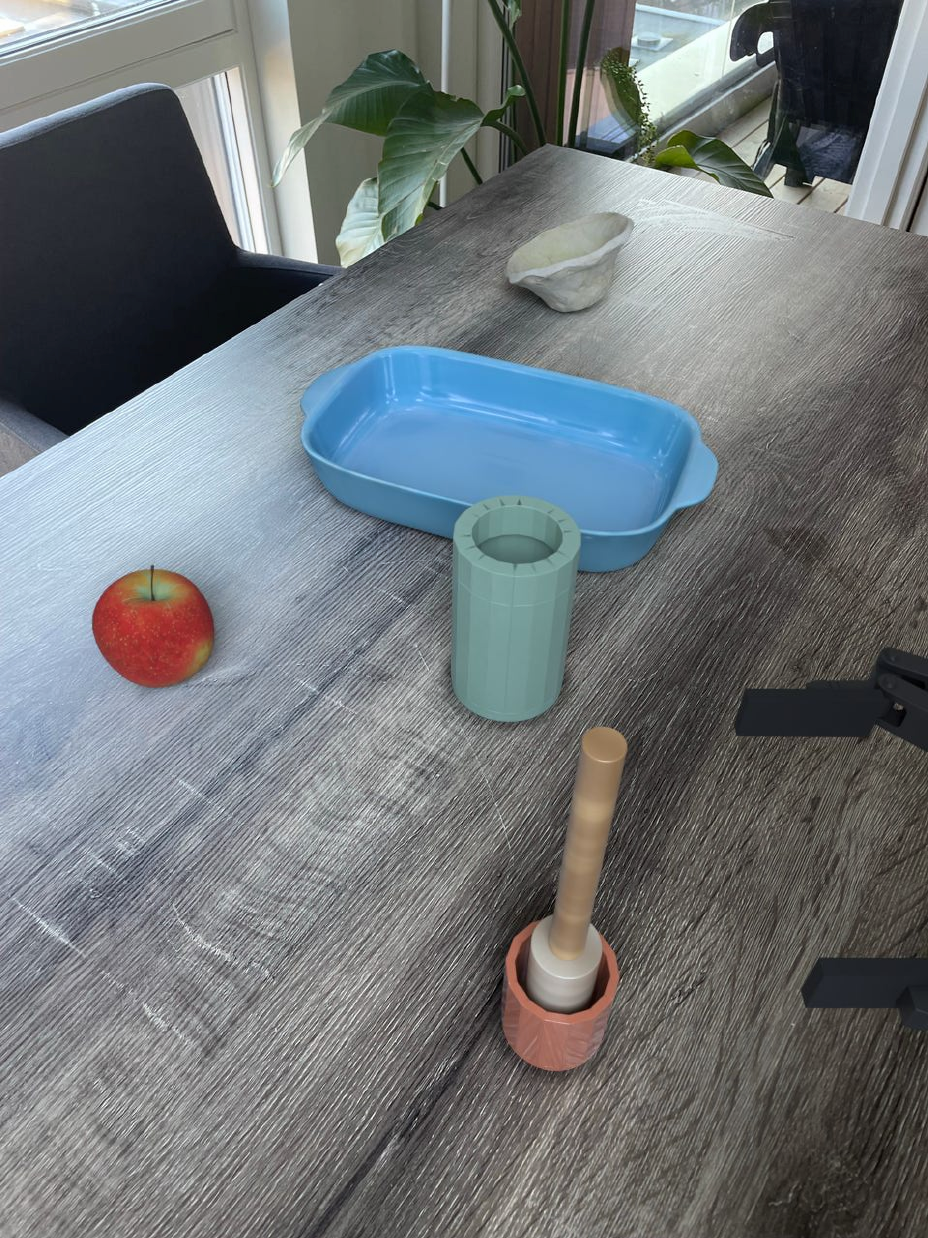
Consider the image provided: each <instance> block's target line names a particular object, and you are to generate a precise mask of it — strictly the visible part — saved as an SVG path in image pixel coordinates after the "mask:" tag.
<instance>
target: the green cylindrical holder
mask: <svg viewBox="0 0 928 1238" xmlns="http://www.w3.org/2000/svg"><path fill="white" fill-rule="evenodd" d="M580 547H581V533H580V530H579V528H578V526H577V524H576V522H575V521H574V519H573V518H572V517H571V516H570V515H569V514H568V513H566V512H565V511H564V510H563V509H561V508H560V507H559V506H557V505H554V504H552V503H550V502H547V501H545V500H542V499H540V498H534V497H528V496H522V495H507V496H496V497H493V498H489V499H486V500H482V501H480V502H478V503H476V504H474V505H473V506H471V507H469V508H468V509H466V510H465V511H464V512H463V513H462V515H461V516H460V517H459V519H458V520H457V521H456V523H455V526H454V534H453V539H452V572H451V573H452V574H451V575H452V576H451V579H452V580H451V581H452V582H451V632H450V633H451V634H450V635H451V637H450V639H451V640H450V641H451V643H450V675H451V676H450V677H451V679H450V681H451V687H452V690H453V692H454V695H455V696H456V698H457V699H458V701H459V702H460V703H461V704H462V705H463V706H464V707H465V708H466V709H467V710H469V711H471V712H472V713H473V714H475V715H477V716H480V717H481V718H483V719H484V718H485V719H487V720H492V721H495V722H503V723H515V722H522V721H527V720H530V719H533V718H537V717H538V716H540V715H542V714H544V713H545V712H547V711H548V710H549V709H550V708H552V706H553V705H554V704H555V703H556V701H557V700H558V698H559V696H560V694H561V692H562V691H561V690H562V685H563V682H564V675H565V668H566V667H565V666H566V660H567V651H568V645H569V637H570V631H571V622H572V614H573V607H574V600H575V593H576V586H577V585H576V584H577V576H578V562H579V555H580Z"/></svg>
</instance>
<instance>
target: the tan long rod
mask: <svg viewBox="0 0 928 1238" xmlns="http://www.w3.org/2000/svg"><path fill="white" fill-rule="evenodd" d="M581 737H582V738H581V740H580V746H579V752H578V758H577V759H578V760H577V766H576V771H575V778H574V783H573V790H572V795H571V802H570V809H569V815H568V819H567V820H568V821H567V827H566V833H565V839H564V845H563V852H562V857H561V864H560V871H559V877H558V882H557V889H556V895H555V901H554V908H553V913H552V914H549V915H548V916H546V917H544V918H542V919H540V920H541V921H540V922H539V923H538V924H537V926H536V927H535V929H534V931H533V933H532V937H531V943H530V950H529V958H528V965H527V972H526V980H525V987H524V993H525V994H526V996H527V997H528V999H529V1000H531V1001H532V1002H534V1003H535V1004H537V1005H538V1006H540V1007H541V1008H543V1009H544V1010H546V1011H547V1012H553V1013H559V1014H566V1015H571V1014H574V1013H578V1012H581V1011H585V1010H588V1009H589V1007H590V1003H591V998H592V994H593V990H594V986H595V982H596V978H597V974H598V970H599V965H600V961H601V957H602V951H603V947H602V941H601V938H600V935H599V933H598V932H599V931H598V930H597V929H596V927H595V926H594V925H593V923H591V920H592V916H593V912H594V906H595V902H596V897H597V893H598V887H599V883H600V878H601V874H602V869H603V865H604V860H605V855H606V850H607V846H608V842H609V836H610V832H611V827H612V823H613V818H614V814H615V809H616V804H617V799H618V795H619V790H620V785H621V781H622V777H623V771H624V768H625V762H626V758H627V753H628V742H627V740H626V738H625V737H624V735H623V734H622V733H621V732H620V731H618V730H617V729H615V728H612V727H609V726H595V727H592V728H590V729H588V730H587V731H586V732H585V733H584V734H583V736H581Z"/></svg>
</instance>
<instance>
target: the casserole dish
mask: <svg viewBox="0 0 928 1238" xmlns="http://www.w3.org/2000/svg"><path fill="white" fill-rule="evenodd" d="M299 407H300V410H301V412H302V414H303V415H304V416H305V418H304V421H303V422H302V425H301V428H300V433H299V435H300V436H299V437H300V443H301V446H302V448H303V449H304V450H303V451H304V452H305V453H306V455H307V457H308V459H309V461H310V464H311V466H312V468H313V469H314V472H315V473H316V475H317V477H318V479H319V481H320V482H321V484H322V485H323V486H324V488H325V489H326V490H327V491H328V493H330V494H331V496H332V497H334V498H335V499H336V500H338V501H340V502H341V503H342V504H344V505H345V506H347V507H349V508H351V509H353V510H355V511H357V512H360V513H362V514H365V515H367V516H370V517H373V518H376V519H379V520H382V521H385V522H388V523H392V524H396V525H400V526H403V527H407V528H410V529H415V530H418V531H421V532H425V533H429V534H433V535H436V536H440V537H442V538H443V537H444V538H446V539H451V540H453V534H454V526H455V523H456V521H457V520H458V519H459V517H460V516H461V515H462V513H463V512H464V511H465V510H466V509H468V508H469V507H471V506H473V505H474V504H476V503H478V502H480V501H482V500H486V499H489V498H493V497H496V496H507V495H522V496H528V497H534V498H540V499H542V500H545V501H547V502H550V503H552V504H554V505H557V506H559V507H560V508H561V509H563V510H564V511H565V512H566V513H568V514H569V515H570V516H571V517H572V518H573V519H574V521H575V522H576V524H577V526H578V528H579V530H580V533H581V547H580V555H579V562H578V570H577V572H587V573H607V572H614V571H619V570H622V569H624V568H628V567H630V566H631V565H634V564H635V563H637V562H638V561H641V559H643V557H645V556H646V555H647V554H648V553H649V551H650V550H651V549H652V548H653V547H654V545H655V544H656V543H657V541H658V539H659V538H660V536H661V535H662V534H663V532H664V530H665V528H666V527H667V525H668V524H669V522H670V520H671V519H672V517H673V516H674V514H675V513H676V512H678V511H681V510H685V509H688V508H692V507H695V506H697V505H699V504H700V503H703V502H704V501H705V500H706V499H707V498H708V497H709V496H710V495H711V493H712V490H713V488H714V486H715V483H716V480H717V477H718V473H719V462H718V459H717V456H716V455H715V453H714V452H713V451H712V450H711V449H710V447H708V445H707V444H706V443H704V442H703V437H702V430H701V427H700V424H699V422H698V420H697V419H696V418H695V417H694V415H692V414H691V413H690V412H689V411H688V410H686V409H685V408H683V407H681V406H679V405H677V404H676V403H674V402H672V401H669V400H667V399H665V398H662V397H659V396H656V395H653V394H650V393H647V392H643V391H638V390H636V389H632V388H628V387H624V386H620V385H616V384H613V383H607V382H603V381H599V380H594V379H590V378H586V377H581V376H577V375H572V374H567V373H563V372H560V371H559V372H558V371H554V370H549V369H545V368H542V367H541V368H540V367H536V366H531V365H527V364H522V363H518V362H514V361H509V360H504V359H499V358H494V357H490V356H485V355H480V354H476V353H471V352H466V351H462V350H461V351H460V350H456V349H450V348H445V347H444V348H443V347H438V346H429V345H418V344H406V345H405V344H403V345H395V346H389V347H385V348H380V349H378V350H375V351H373V352H371V353H369V354H367V355H365V356H362V357H361V358H360V359H358V360H356V361H353V362H350V363H347V364H344V365H340V366H337V367H335V368H332V369H330V370H328V371H326V372H324V373H323V374H321V375H320V376H318V377H317V378H316V379H314V381H312V383H311V384H310V385H308V386H307V388H306V389H305V391H304V392H303V394H302V395H301V398H300V401H299Z"/></svg>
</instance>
